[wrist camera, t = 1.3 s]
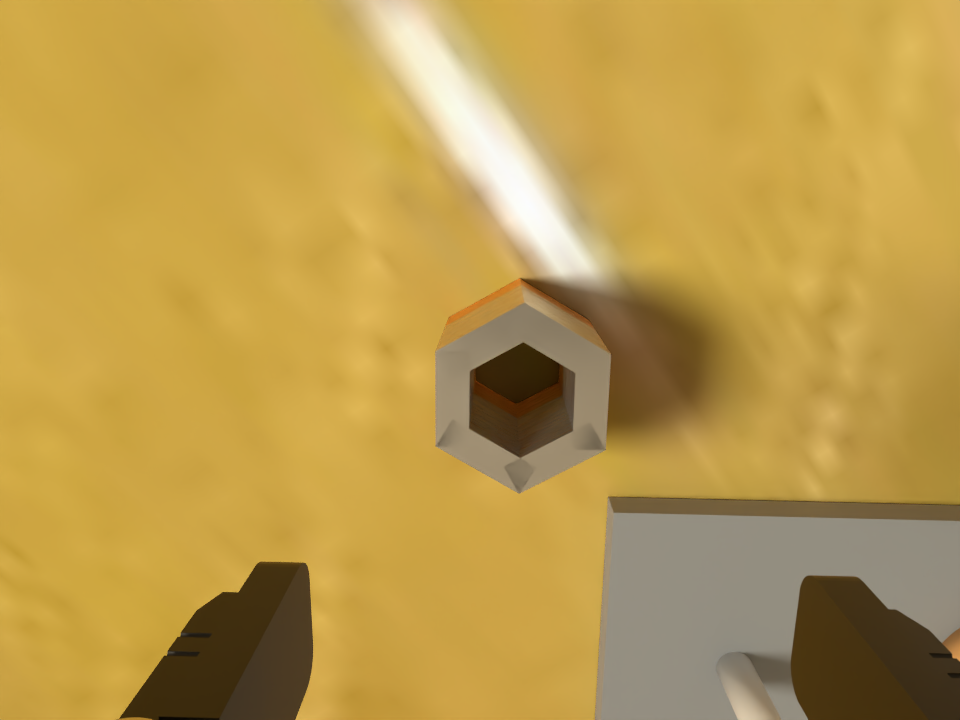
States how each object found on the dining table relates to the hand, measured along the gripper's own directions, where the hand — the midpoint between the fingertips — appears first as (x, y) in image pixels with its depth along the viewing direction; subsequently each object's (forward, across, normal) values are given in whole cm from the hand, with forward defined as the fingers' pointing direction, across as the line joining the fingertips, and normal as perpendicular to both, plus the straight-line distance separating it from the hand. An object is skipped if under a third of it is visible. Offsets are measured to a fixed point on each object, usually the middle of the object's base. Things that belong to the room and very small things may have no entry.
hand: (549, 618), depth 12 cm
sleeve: (+18, 0, 0) cm, 18 cm away
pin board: (+18, -15, +13) cm, 27 cm away
